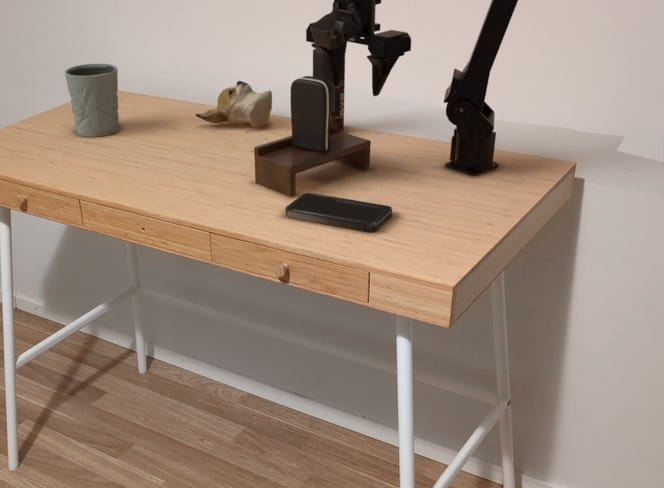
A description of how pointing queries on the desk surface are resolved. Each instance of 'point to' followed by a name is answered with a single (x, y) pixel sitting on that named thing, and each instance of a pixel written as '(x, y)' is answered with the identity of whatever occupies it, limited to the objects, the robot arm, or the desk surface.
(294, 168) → the shelf
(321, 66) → the deodorant
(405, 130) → the desk surface
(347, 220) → the phone
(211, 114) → the ceramic sculpture
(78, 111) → the green planter pot
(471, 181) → the desk surface
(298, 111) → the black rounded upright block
